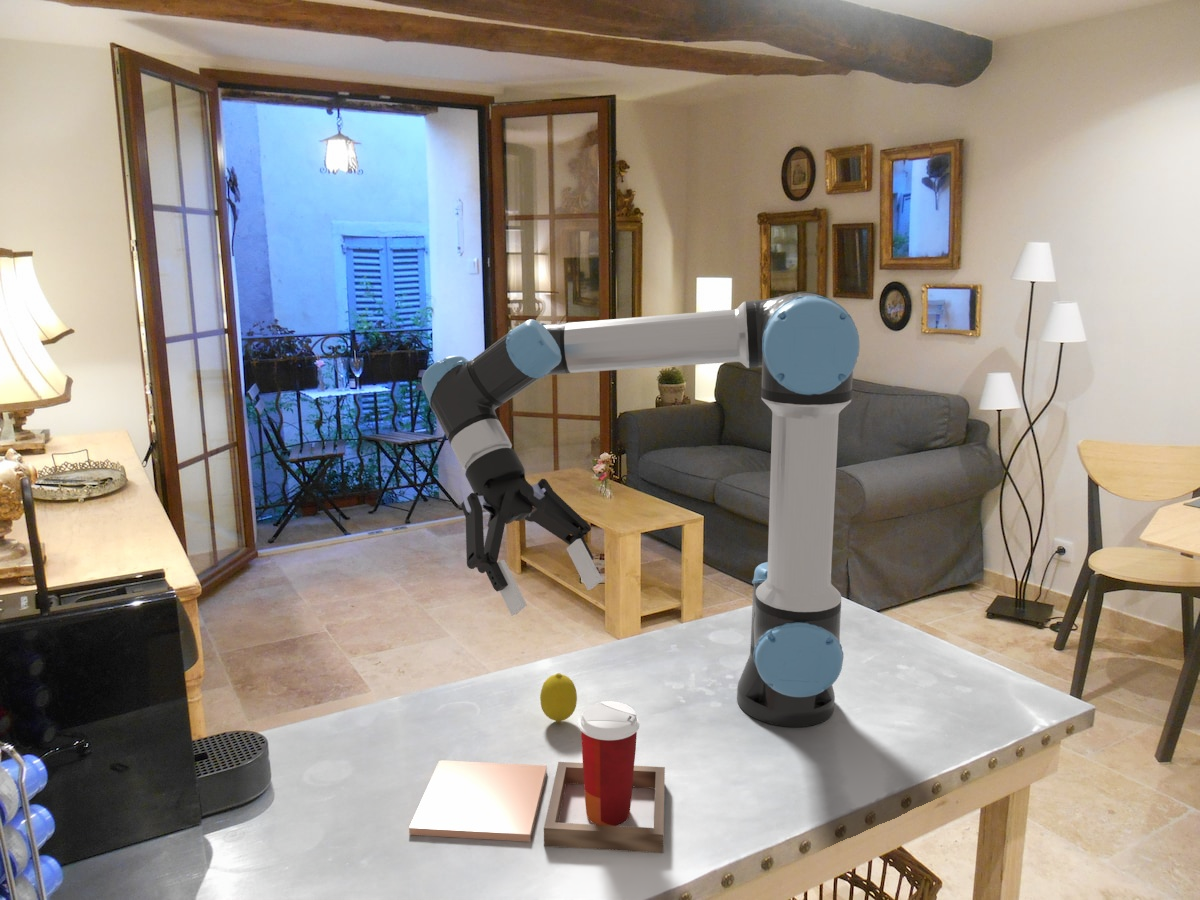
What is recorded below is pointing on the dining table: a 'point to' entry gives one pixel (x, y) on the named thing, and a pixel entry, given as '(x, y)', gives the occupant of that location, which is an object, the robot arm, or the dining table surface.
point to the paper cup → (608, 760)
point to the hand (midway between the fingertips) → (558, 597)
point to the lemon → (558, 697)
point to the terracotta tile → (480, 801)
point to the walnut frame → (605, 834)
